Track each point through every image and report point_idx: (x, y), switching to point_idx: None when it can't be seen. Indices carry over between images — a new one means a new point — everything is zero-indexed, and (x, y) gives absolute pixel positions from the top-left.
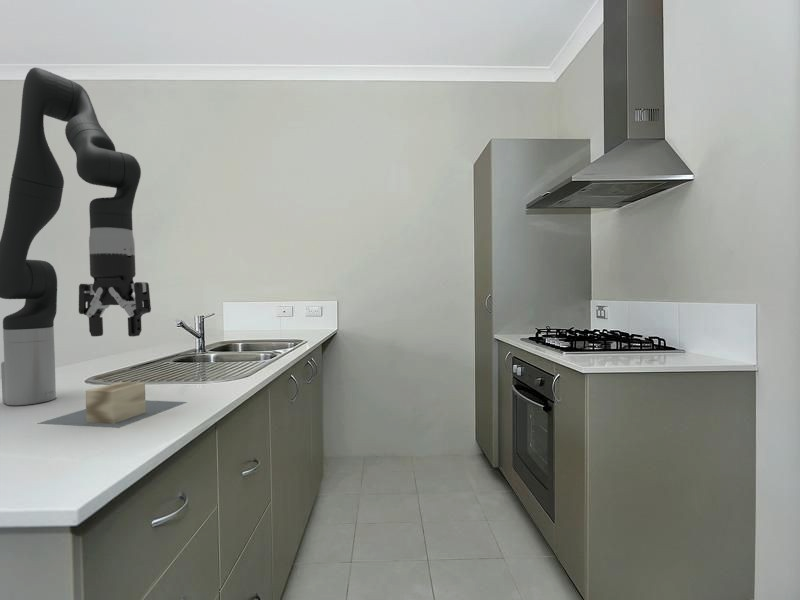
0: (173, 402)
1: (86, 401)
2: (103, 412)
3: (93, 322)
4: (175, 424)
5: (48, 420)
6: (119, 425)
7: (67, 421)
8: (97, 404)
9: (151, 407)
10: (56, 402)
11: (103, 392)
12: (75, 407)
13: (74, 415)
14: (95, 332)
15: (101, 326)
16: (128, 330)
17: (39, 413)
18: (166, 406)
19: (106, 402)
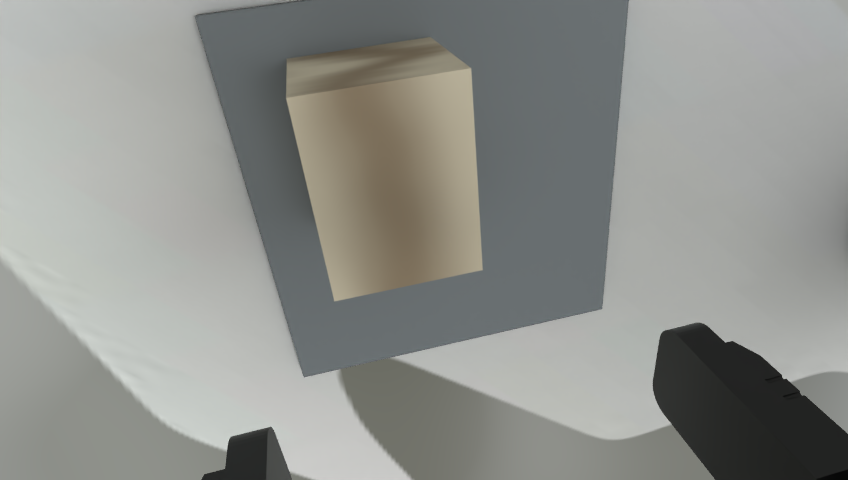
0: (353, 354)
1: (452, 56)
2: (344, 61)
3: (765, 430)
4: (64, 178)
5: (622, 7)
6: (230, 45)
7: (527, 21)
8: (383, 64)
9: None
10: (817, 227)
11: (351, 86)
12: (700, 207)
13: (577, 98)
14: (682, 361)
15: (707, 455)
16: (259, 472)
17: (771, 107)
18: (324, 310)
19: (328, 75)
